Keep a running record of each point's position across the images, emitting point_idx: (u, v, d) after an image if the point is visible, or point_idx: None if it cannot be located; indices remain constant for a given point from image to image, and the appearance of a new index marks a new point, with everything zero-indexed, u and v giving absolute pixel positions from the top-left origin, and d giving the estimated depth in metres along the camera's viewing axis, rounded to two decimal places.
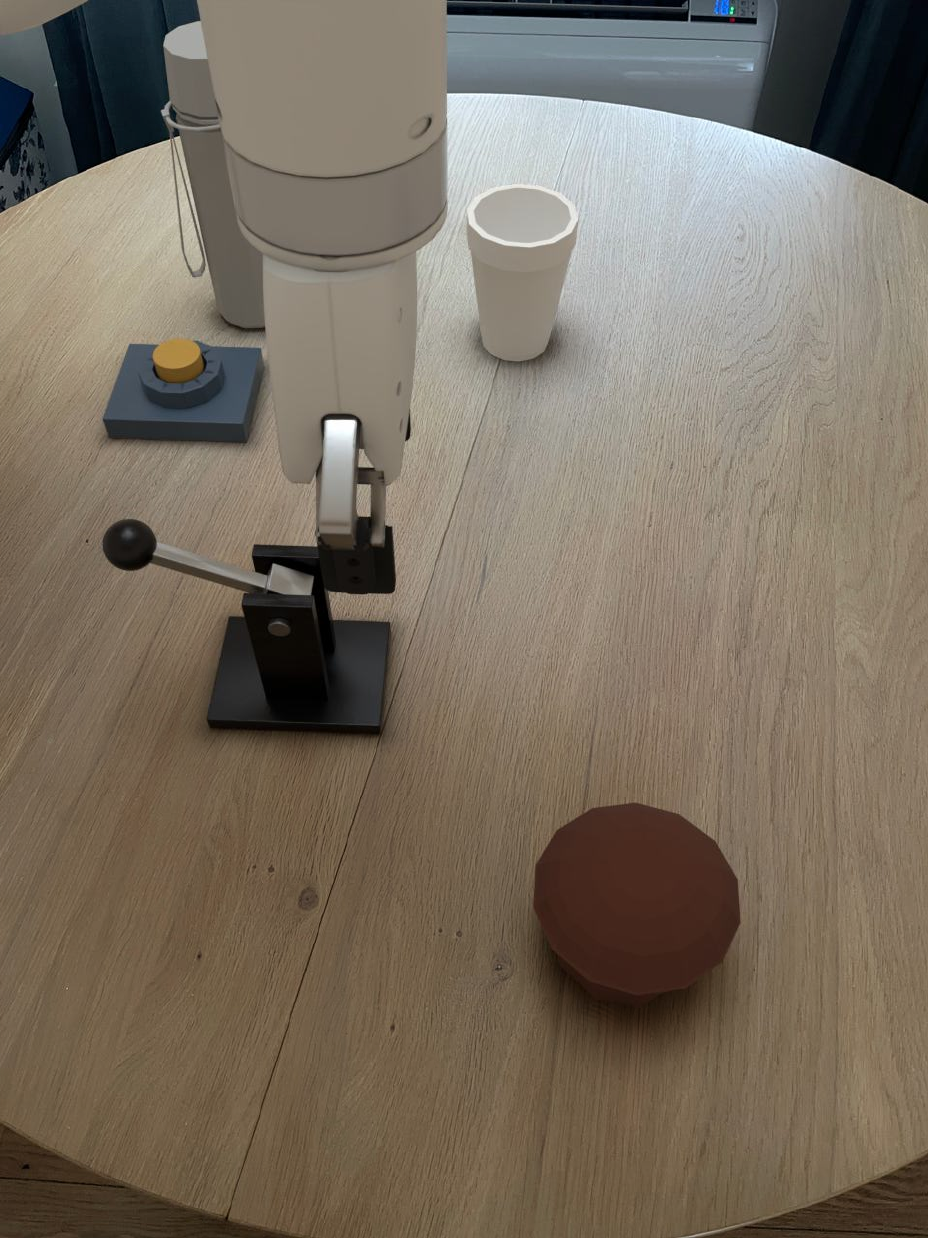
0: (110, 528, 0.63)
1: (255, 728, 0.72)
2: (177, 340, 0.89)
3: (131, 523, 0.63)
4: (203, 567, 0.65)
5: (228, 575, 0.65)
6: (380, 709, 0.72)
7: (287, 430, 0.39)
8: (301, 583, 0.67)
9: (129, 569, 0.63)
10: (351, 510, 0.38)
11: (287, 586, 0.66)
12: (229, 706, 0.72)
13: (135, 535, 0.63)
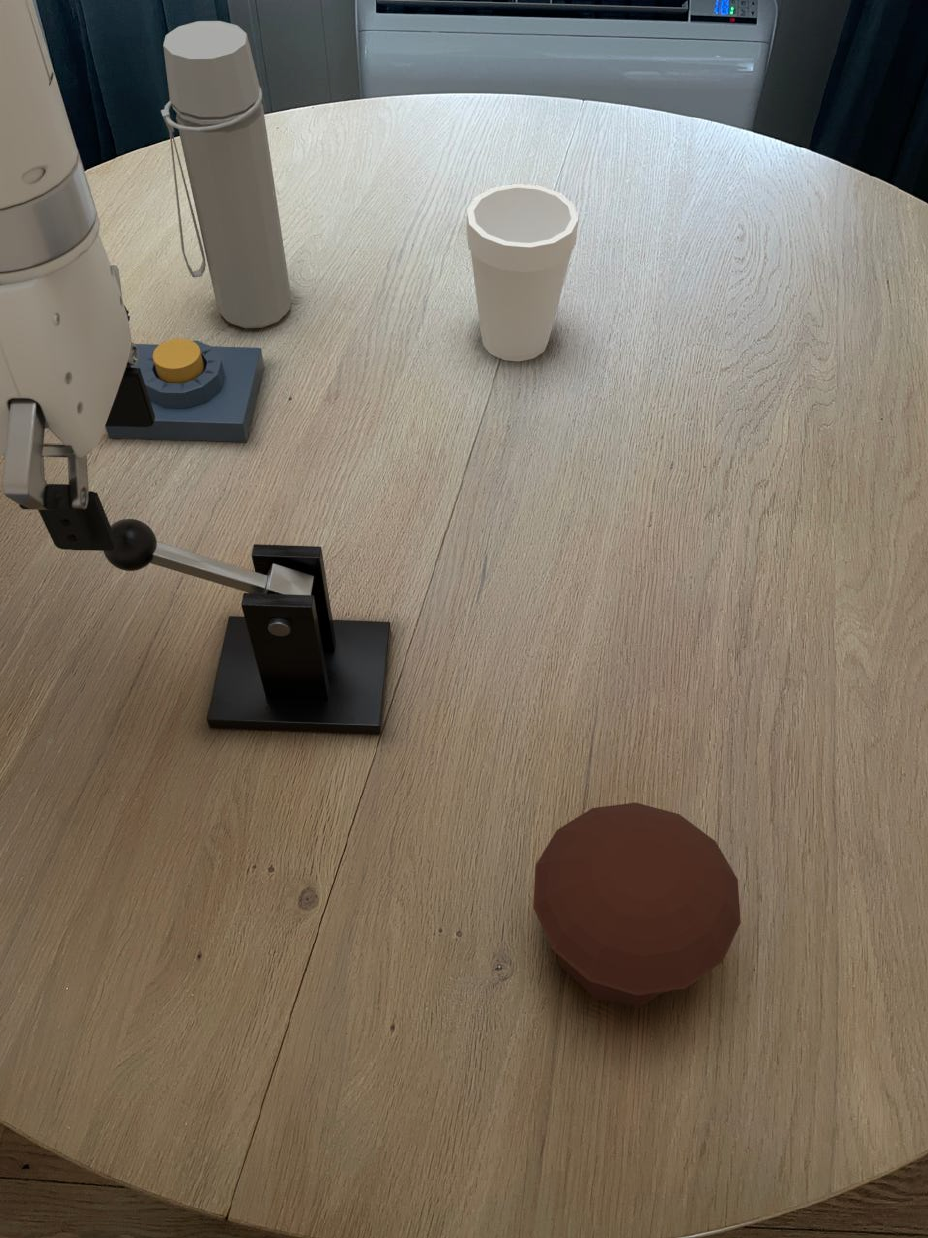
0: None
1: (255, 728, 0.72)
2: (177, 340, 0.89)
3: (131, 523, 0.63)
4: (203, 567, 0.65)
5: (228, 575, 0.65)
6: (380, 709, 0.72)
7: None
8: (301, 583, 0.67)
9: (129, 569, 0.63)
10: (28, 475, 0.48)
11: (287, 586, 0.66)
12: (229, 706, 0.72)
13: (135, 535, 0.63)
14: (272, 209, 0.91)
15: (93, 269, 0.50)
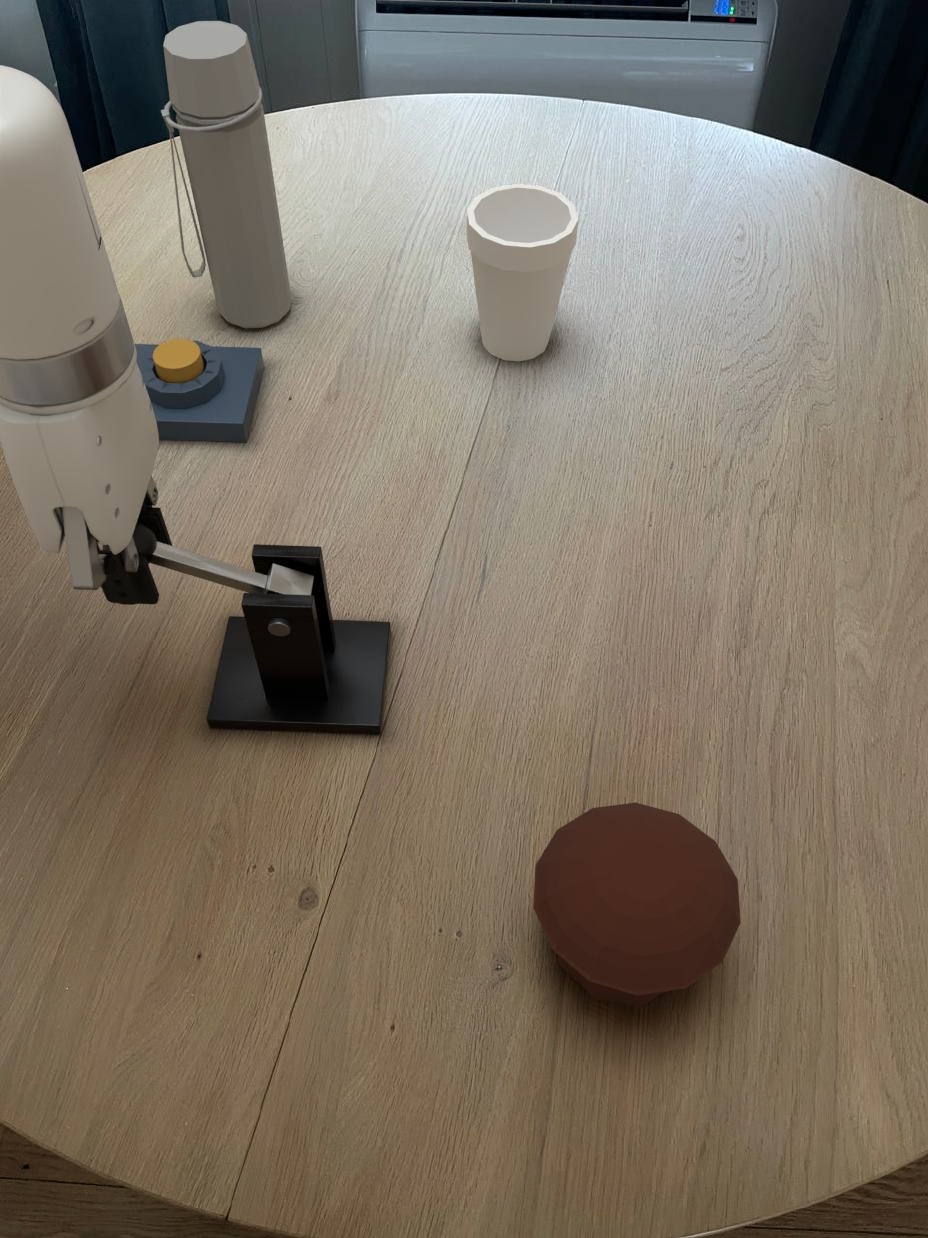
0: None
1: (255, 728, 0.72)
2: (177, 340, 0.89)
3: None
4: (203, 567, 0.65)
5: (228, 575, 0.65)
6: (380, 709, 0.72)
7: (32, 517, 0.55)
8: (301, 583, 0.67)
9: None
10: (92, 577, 0.56)
11: (287, 586, 0.66)
12: (229, 706, 0.72)
13: (135, 535, 0.63)
14: (272, 209, 0.91)
15: (129, 388, 0.56)
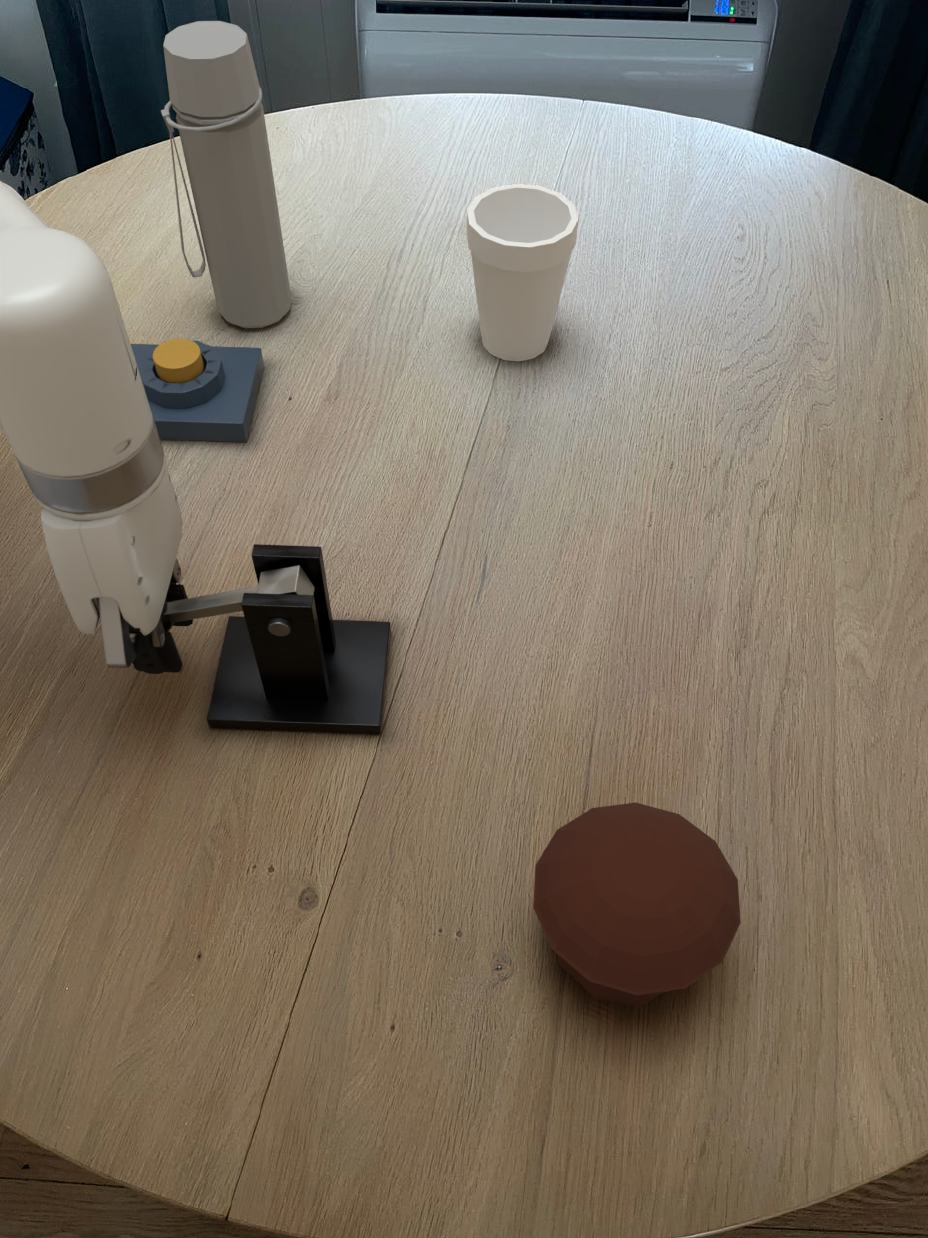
0: None
1: (255, 728, 0.72)
2: (177, 340, 0.89)
3: None
4: (205, 605, 0.68)
5: (227, 602, 0.67)
6: (380, 709, 0.72)
7: (71, 606, 0.61)
8: (287, 577, 0.66)
9: None
10: (125, 657, 0.62)
11: (274, 586, 0.66)
12: (229, 706, 0.72)
13: None
14: (272, 209, 0.91)
15: (158, 488, 0.62)
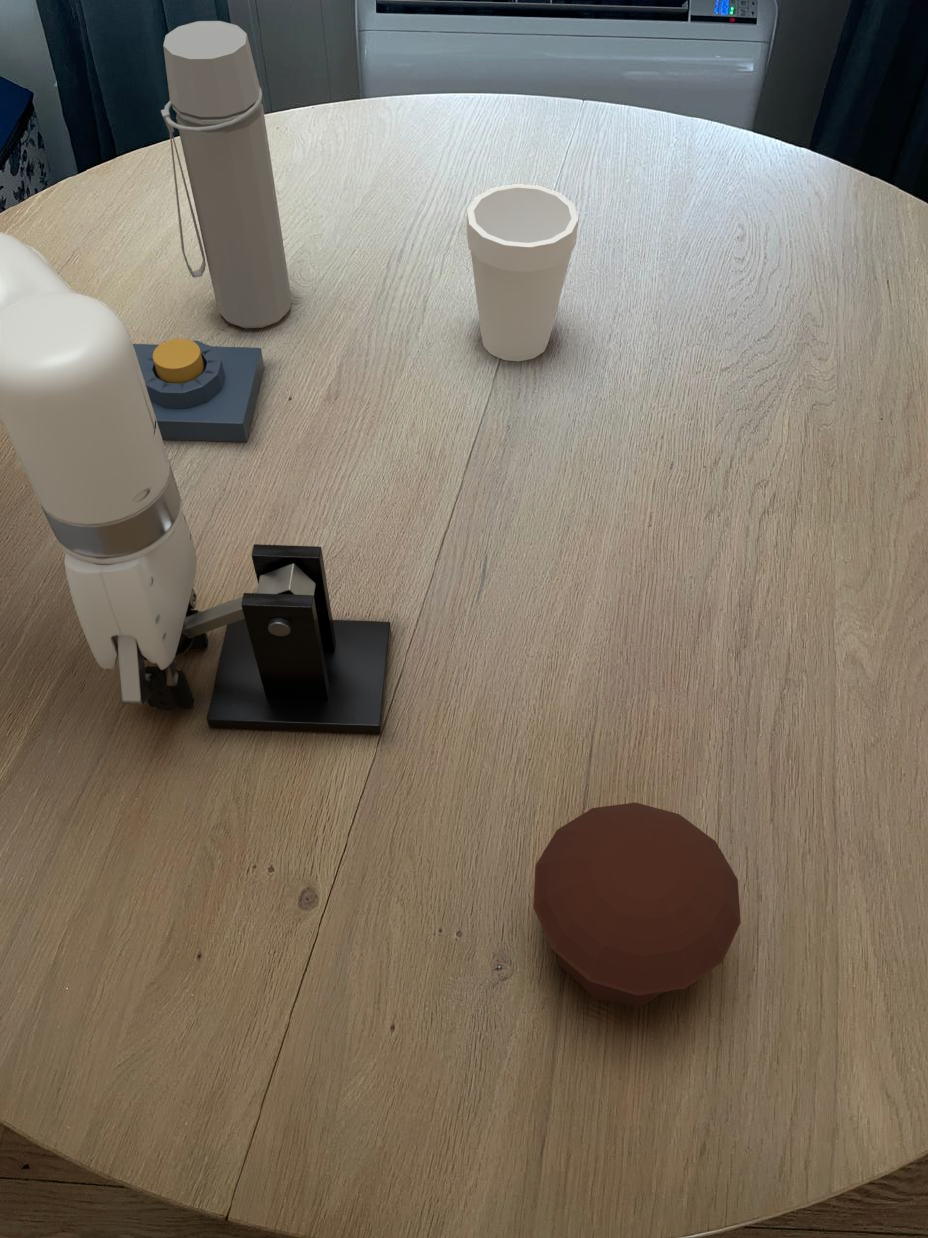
0: None
1: (255, 728, 0.72)
2: (177, 340, 0.89)
3: None
4: (214, 616, 0.69)
5: (233, 610, 0.68)
6: (380, 709, 0.72)
7: (92, 643, 0.64)
8: (282, 577, 0.66)
9: None
10: (140, 693, 0.65)
11: (270, 587, 0.66)
12: (229, 706, 0.72)
13: None
14: (272, 209, 0.91)
15: (174, 530, 0.65)
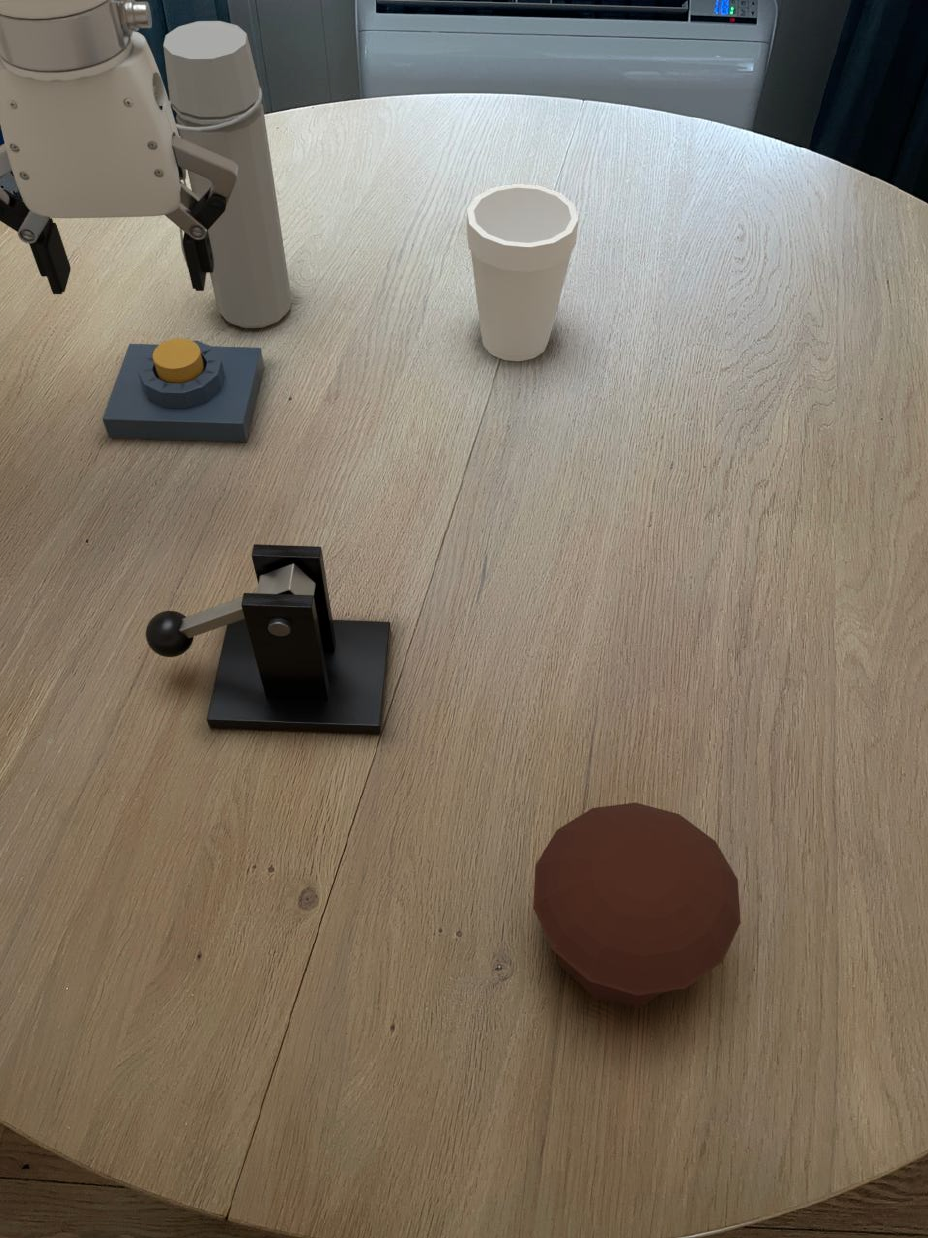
0: None
1: (255, 728, 0.72)
2: (177, 340, 0.89)
3: (153, 618, 0.71)
4: (214, 616, 0.69)
5: (233, 610, 0.68)
6: (380, 709, 0.72)
7: None
8: (282, 577, 0.66)
9: (174, 653, 0.71)
10: None
11: (270, 587, 0.66)
12: (229, 706, 0.72)
13: (154, 626, 0.70)
14: (272, 209, 0.91)
15: (97, 116, 0.62)
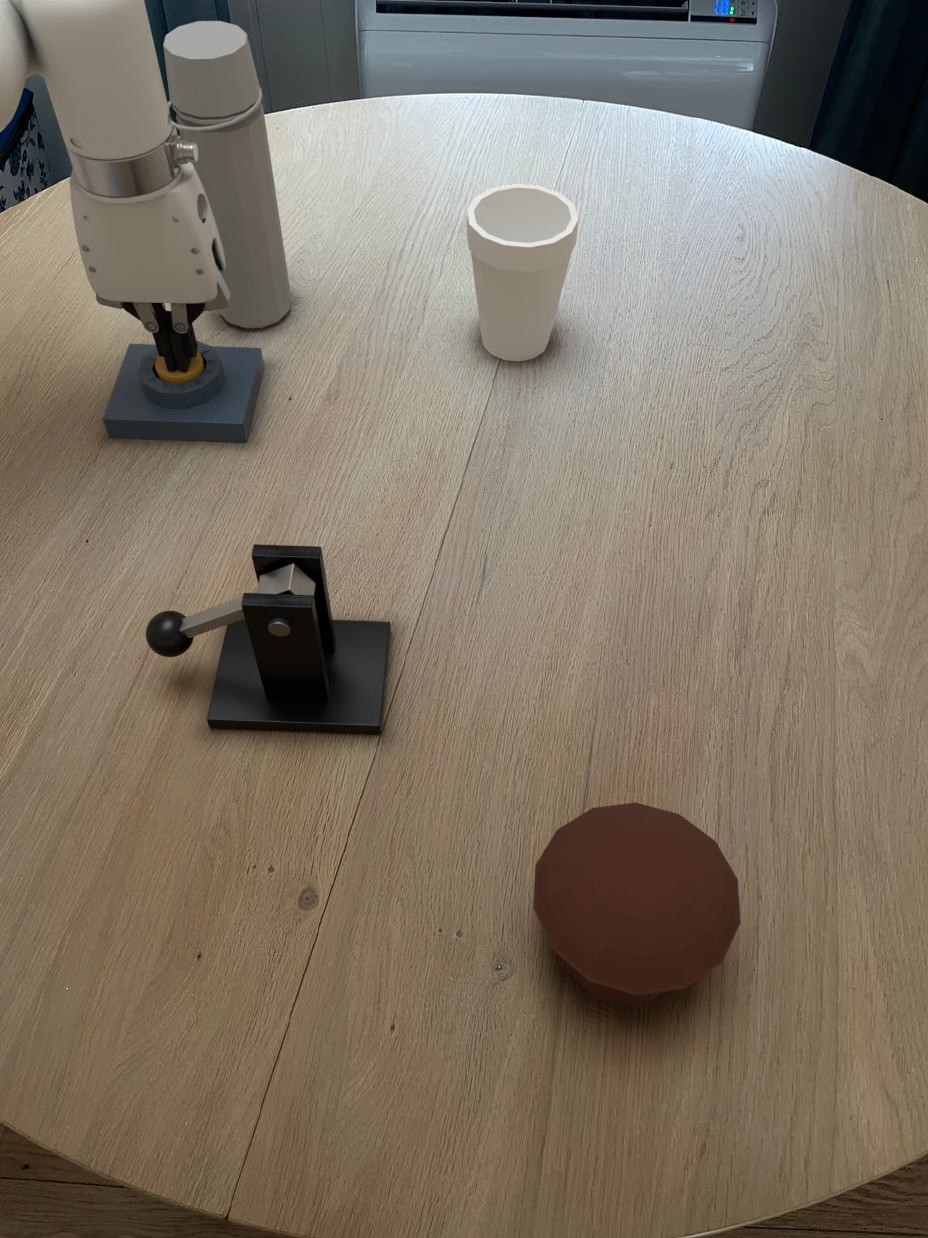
0: None
1: (255, 728, 0.72)
2: None
3: (153, 618, 0.71)
4: (214, 616, 0.69)
5: (233, 610, 0.68)
6: (380, 709, 0.72)
7: None
8: (282, 577, 0.66)
9: (174, 653, 0.71)
10: (97, 294, 0.83)
11: (270, 587, 0.66)
12: (229, 706, 0.72)
13: (154, 626, 0.70)
14: (272, 209, 0.91)
15: (151, 228, 0.76)
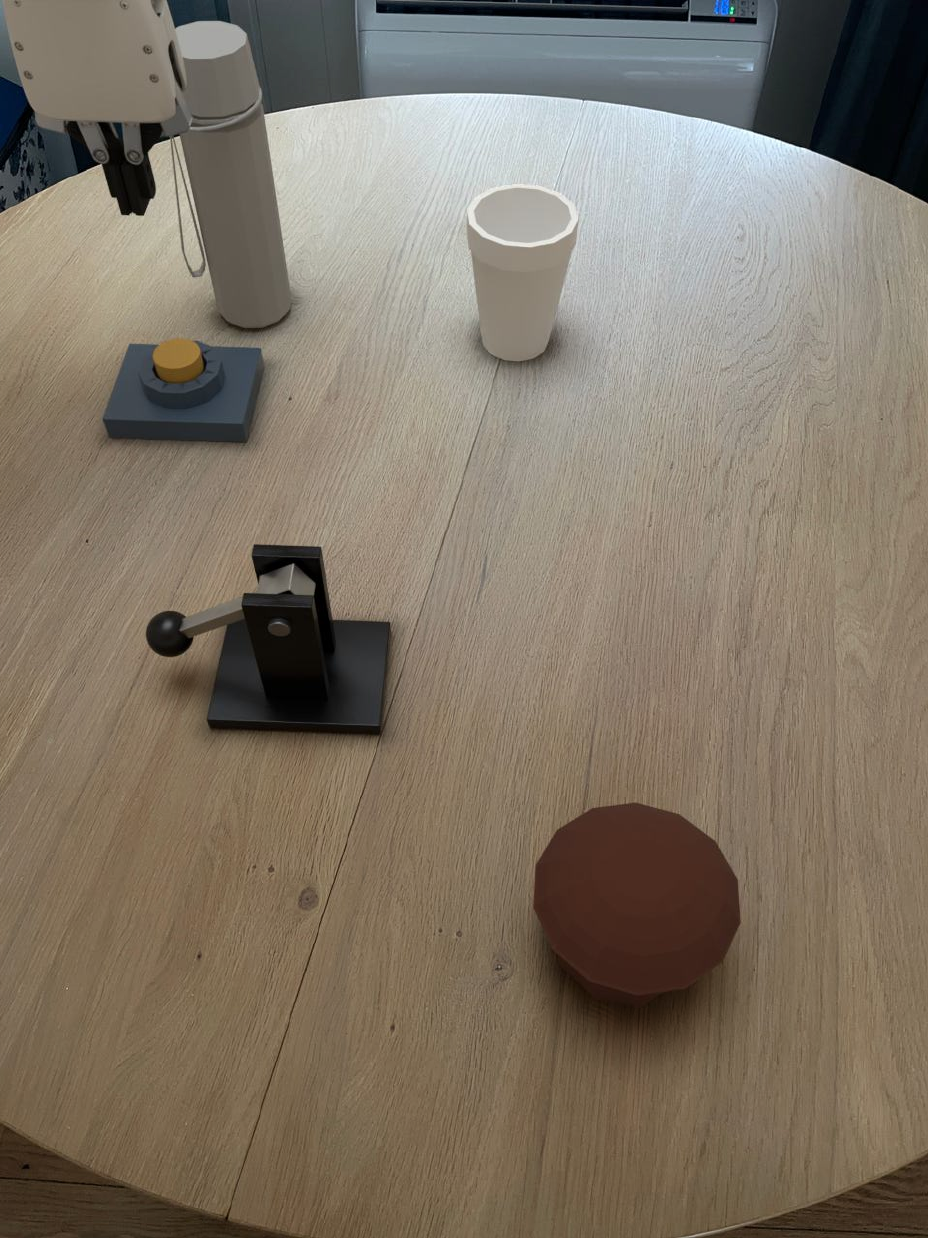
0: None
1: (255, 728, 0.72)
2: (177, 340, 0.89)
3: (153, 618, 0.71)
4: (214, 616, 0.69)
5: (233, 610, 0.68)
6: (380, 709, 0.72)
7: None
8: (282, 577, 0.66)
9: (174, 653, 0.71)
10: (36, 114, 0.72)
11: (270, 587, 0.66)
12: (229, 706, 0.72)
13: (154, 626, 0.70)
14: (272, 209, 0.91)
15: (94, 17, 0.65)
